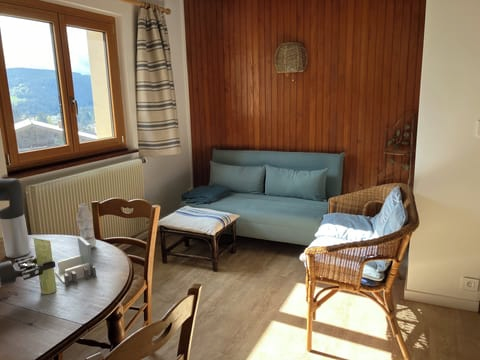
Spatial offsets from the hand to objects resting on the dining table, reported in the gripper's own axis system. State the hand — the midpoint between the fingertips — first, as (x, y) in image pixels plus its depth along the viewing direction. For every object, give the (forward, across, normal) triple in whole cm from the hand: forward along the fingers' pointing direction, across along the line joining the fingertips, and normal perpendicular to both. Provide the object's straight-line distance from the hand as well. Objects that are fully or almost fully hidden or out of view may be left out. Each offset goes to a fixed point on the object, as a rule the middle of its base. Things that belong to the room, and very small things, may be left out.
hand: (52, 260), depth 136 cm
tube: (-2, 0, +11) cm, 11 cm away
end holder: (+9, +8, +11) cm, 16 cm away
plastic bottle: (+21, +29, +11) cm, 38 cm away
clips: (+8, 0, +11) cm, 14 cm away
